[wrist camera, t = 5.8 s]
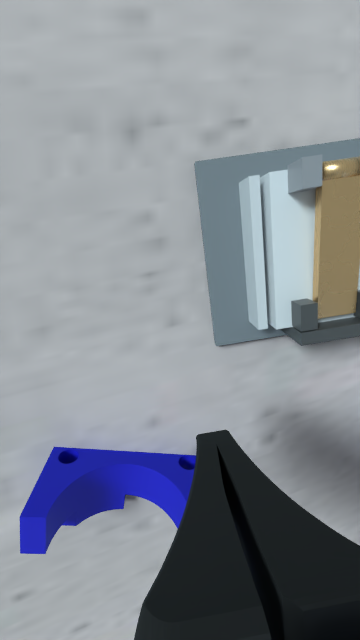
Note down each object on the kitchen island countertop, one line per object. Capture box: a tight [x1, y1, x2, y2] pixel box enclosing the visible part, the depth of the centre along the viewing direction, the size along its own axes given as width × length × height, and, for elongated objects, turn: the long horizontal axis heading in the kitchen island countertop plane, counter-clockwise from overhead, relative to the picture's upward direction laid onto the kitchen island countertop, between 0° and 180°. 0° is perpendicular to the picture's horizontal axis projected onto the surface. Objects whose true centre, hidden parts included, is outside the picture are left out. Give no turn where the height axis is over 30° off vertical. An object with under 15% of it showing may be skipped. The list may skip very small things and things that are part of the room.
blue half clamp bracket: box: [20, 447, 196, 554], centre depth 21 cm, size 12×4×6 cm, turn 82°
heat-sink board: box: [194, 138, 360, 346], centre depth 17 cm, size 14×12×5 cm
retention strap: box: [312, 156, 360, 319], centre depth 16 cm, size 2×8×1 cm, turn 8°
